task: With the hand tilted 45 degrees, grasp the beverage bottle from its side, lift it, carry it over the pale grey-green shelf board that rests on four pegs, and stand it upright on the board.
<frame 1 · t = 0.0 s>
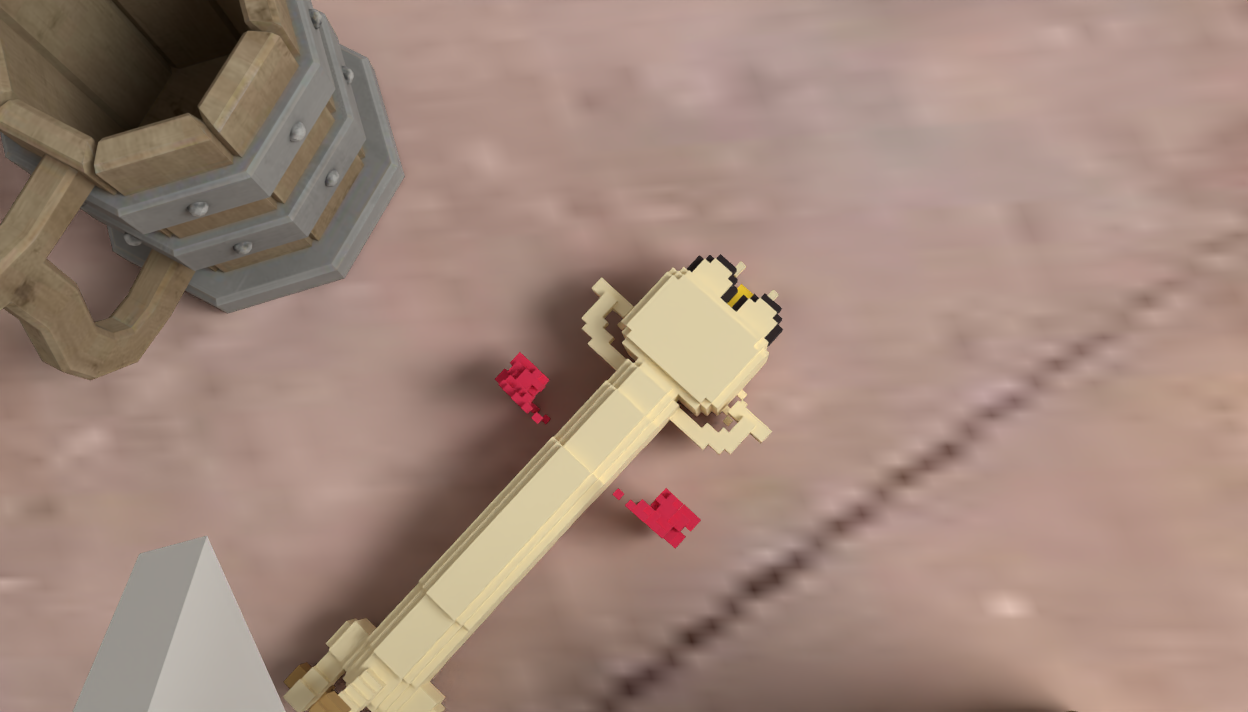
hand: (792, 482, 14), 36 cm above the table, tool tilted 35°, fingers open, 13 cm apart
tankard: (212, 237, 52), on the table
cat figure: (555, 503, 50), on the table
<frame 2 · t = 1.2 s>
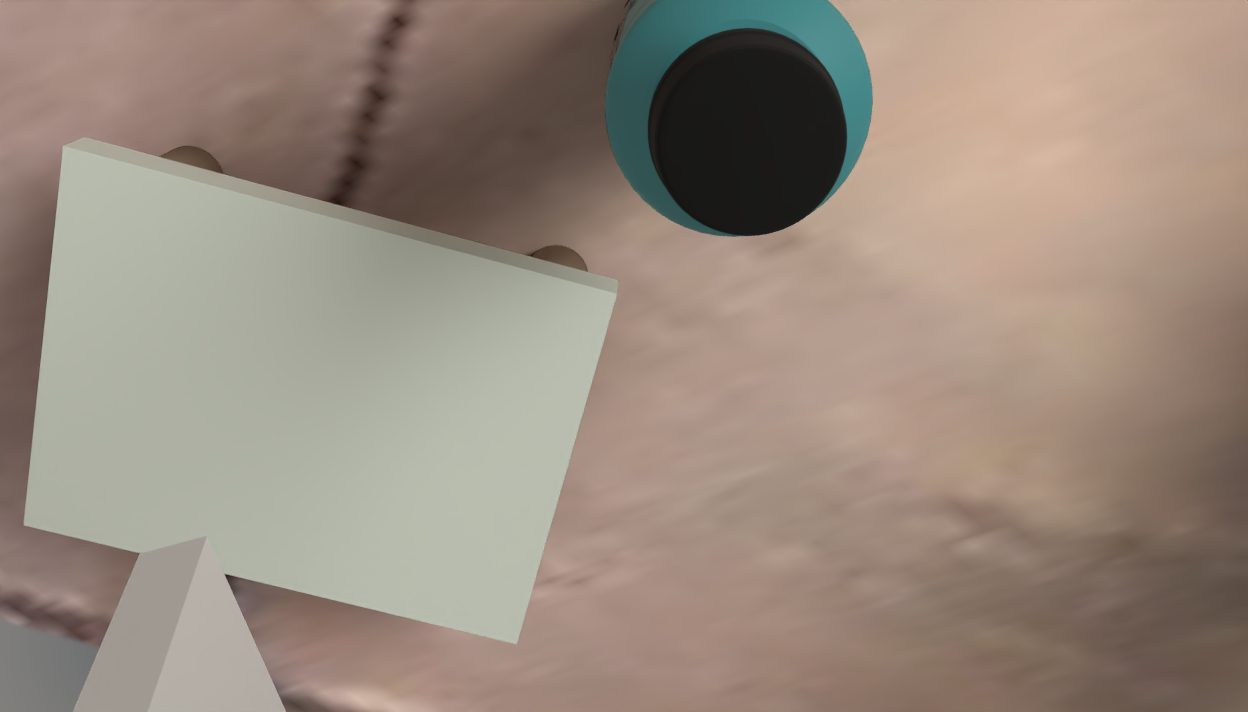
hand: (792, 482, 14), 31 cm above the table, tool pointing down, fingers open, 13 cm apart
beverage bottle: (708, 36, 42), on the table
peg shelf: (351, 347, 47), on the table
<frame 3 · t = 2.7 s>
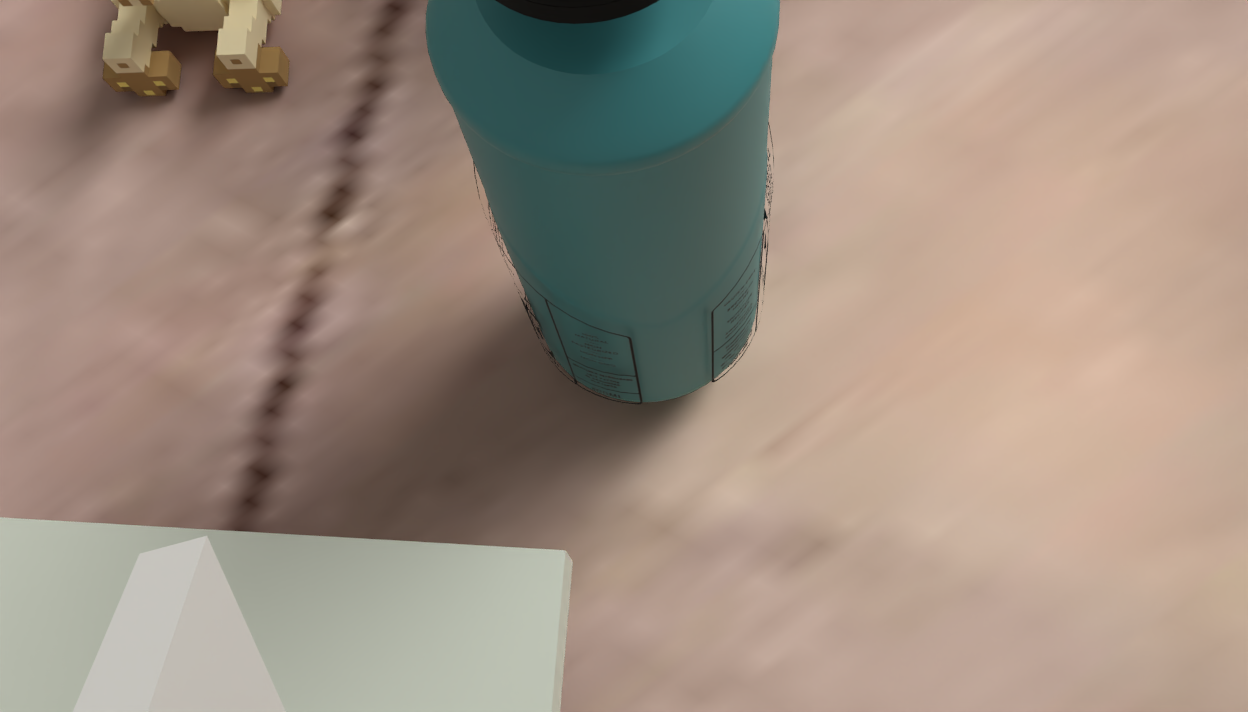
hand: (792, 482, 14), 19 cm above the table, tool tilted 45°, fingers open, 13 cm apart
beverage bottle: (647, 325, 35), on the table
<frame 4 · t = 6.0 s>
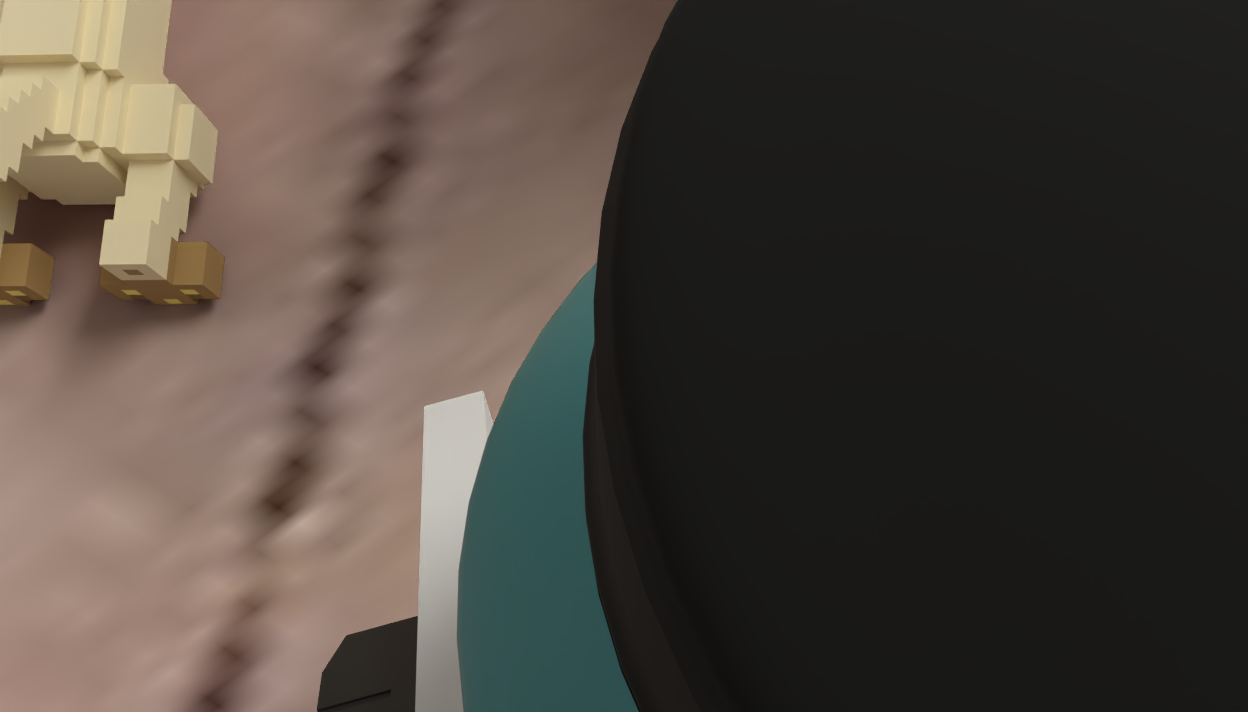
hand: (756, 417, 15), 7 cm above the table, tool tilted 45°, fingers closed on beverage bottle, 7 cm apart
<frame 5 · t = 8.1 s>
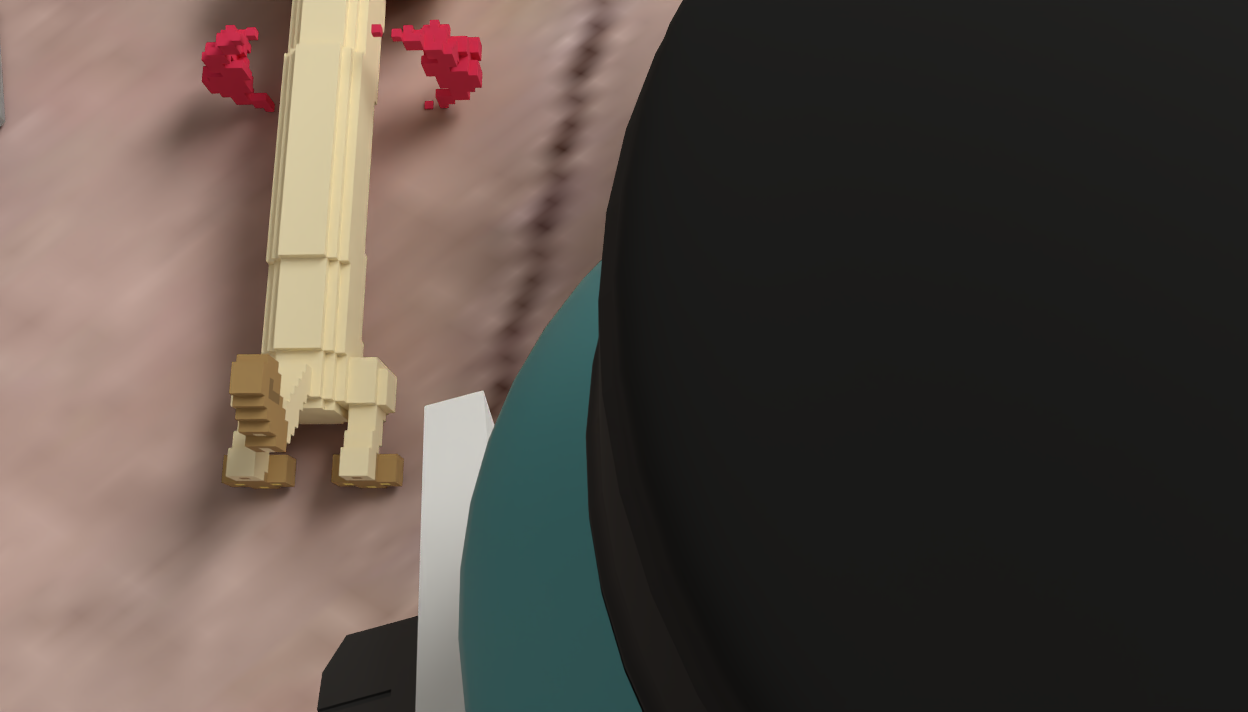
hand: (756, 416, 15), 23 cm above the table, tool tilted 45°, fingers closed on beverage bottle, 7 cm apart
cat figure: (355, 166, 44), on the table
when the fingers open (15 cm above the table, at t = 11.1 s): beverage bottle drops 1 cm, resting on peg shelf.
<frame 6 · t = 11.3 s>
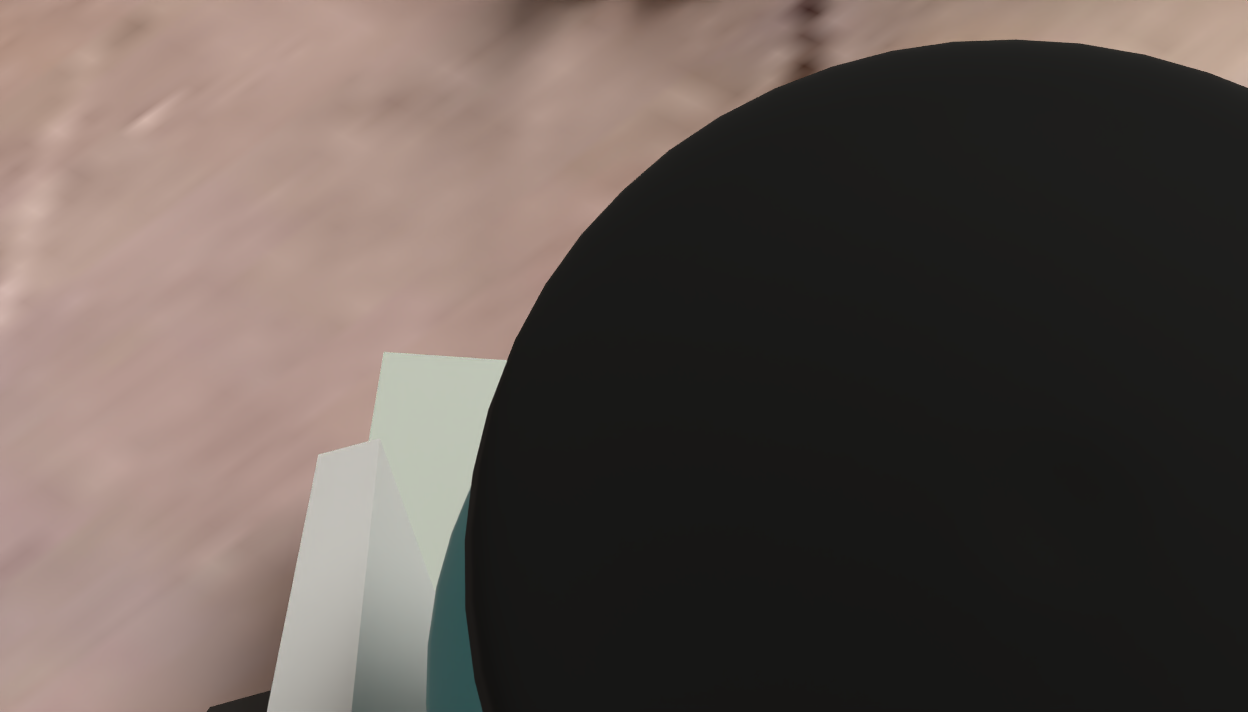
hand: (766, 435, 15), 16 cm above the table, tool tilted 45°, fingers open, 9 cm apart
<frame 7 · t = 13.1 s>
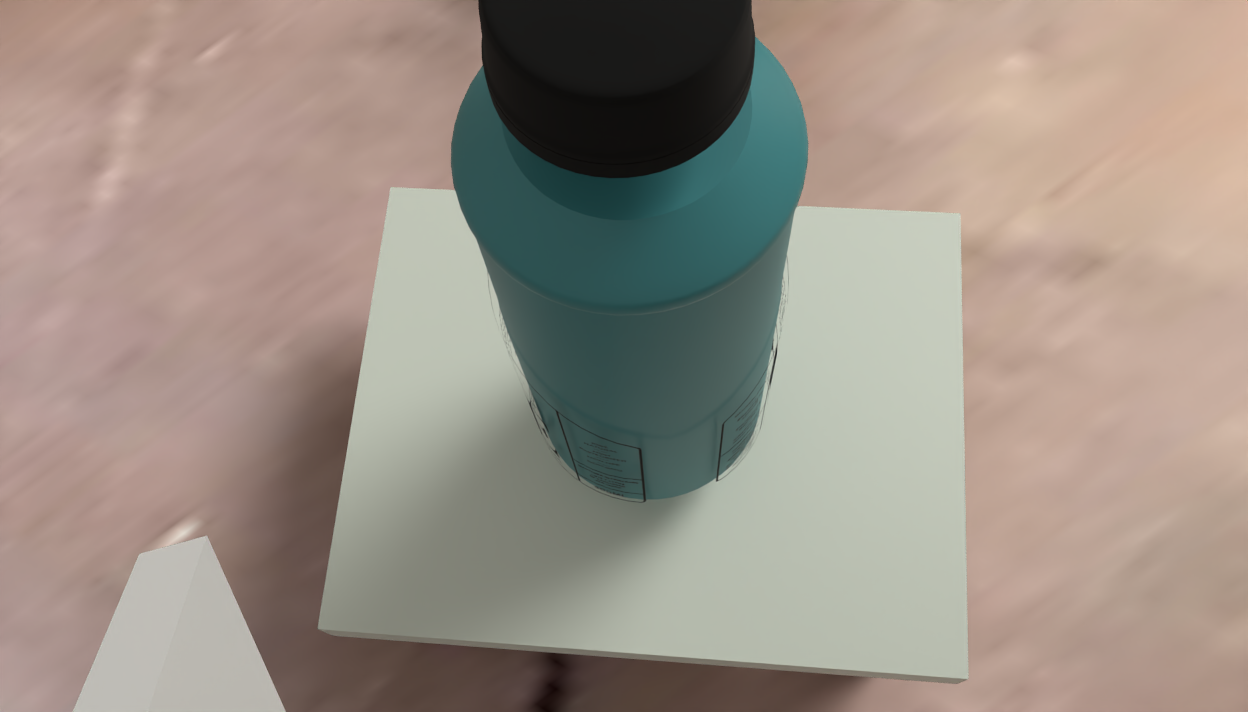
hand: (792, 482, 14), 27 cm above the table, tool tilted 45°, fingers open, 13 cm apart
beverage bottle: (648, 416, 35), point 6 cm above the table, touching peg shelf
peg shelf: (660, 467, 41), on the table
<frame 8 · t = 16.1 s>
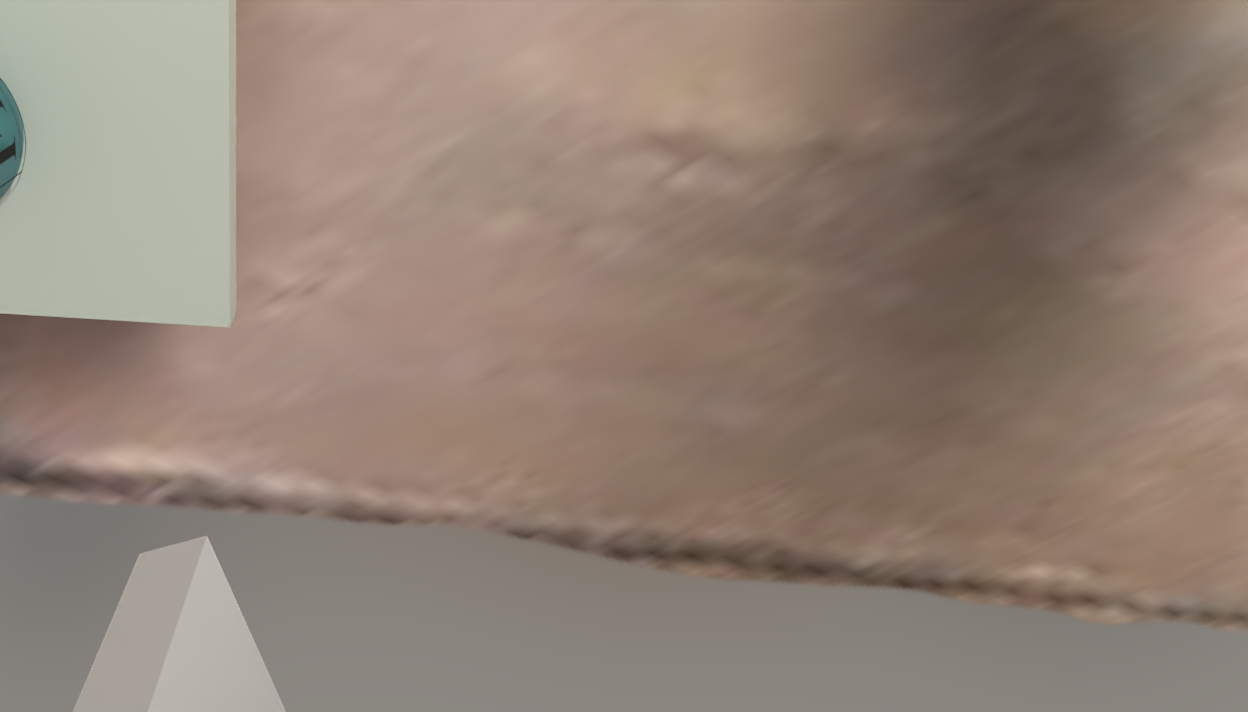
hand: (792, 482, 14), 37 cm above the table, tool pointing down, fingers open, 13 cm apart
peg shelf: (10, 77, 45), on the table
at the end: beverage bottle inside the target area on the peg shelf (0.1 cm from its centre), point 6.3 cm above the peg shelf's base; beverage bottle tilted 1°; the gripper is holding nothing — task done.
